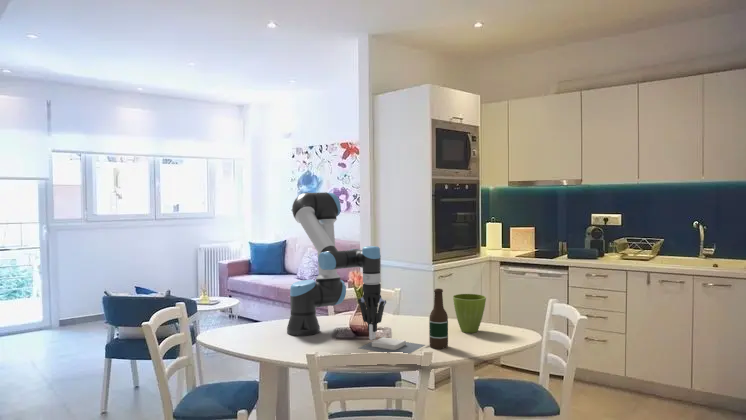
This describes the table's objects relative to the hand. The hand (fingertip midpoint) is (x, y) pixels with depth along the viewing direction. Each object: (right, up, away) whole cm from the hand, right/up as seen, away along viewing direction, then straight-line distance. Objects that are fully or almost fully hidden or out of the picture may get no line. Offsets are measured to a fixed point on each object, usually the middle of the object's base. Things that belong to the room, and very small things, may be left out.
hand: (372, 339), depth 232 cm
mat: (+8, -3, -5) cm, 10 cm away
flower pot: (+45, -2, +22) cm, 50 cm away
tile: (+2, -1, -1) cm, 2 cm away
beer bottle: (+27, -3, -4) cm, 28 cm away
